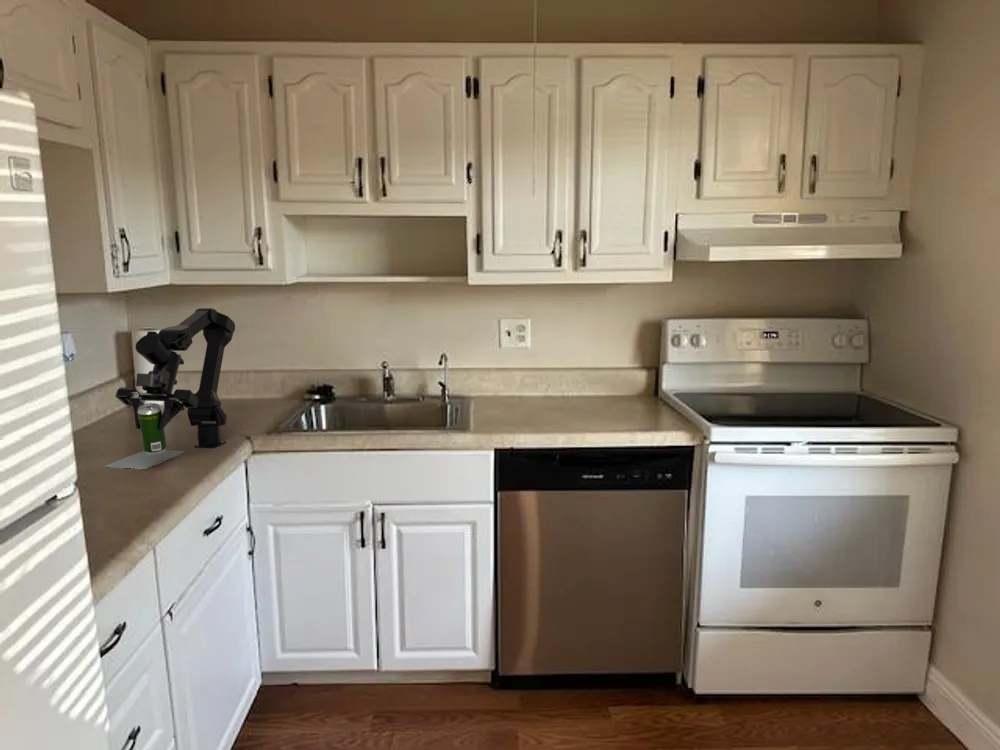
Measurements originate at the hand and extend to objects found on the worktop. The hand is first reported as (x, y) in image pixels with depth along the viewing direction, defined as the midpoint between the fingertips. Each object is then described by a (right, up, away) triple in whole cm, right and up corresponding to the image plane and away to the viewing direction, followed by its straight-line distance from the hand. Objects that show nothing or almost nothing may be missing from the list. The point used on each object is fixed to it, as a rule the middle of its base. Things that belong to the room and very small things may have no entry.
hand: (149, 428), depth 173 cm
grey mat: (-9, -10, +16) cm, 21 cm away
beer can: (0, -6, +3) cm, 7 cm away
